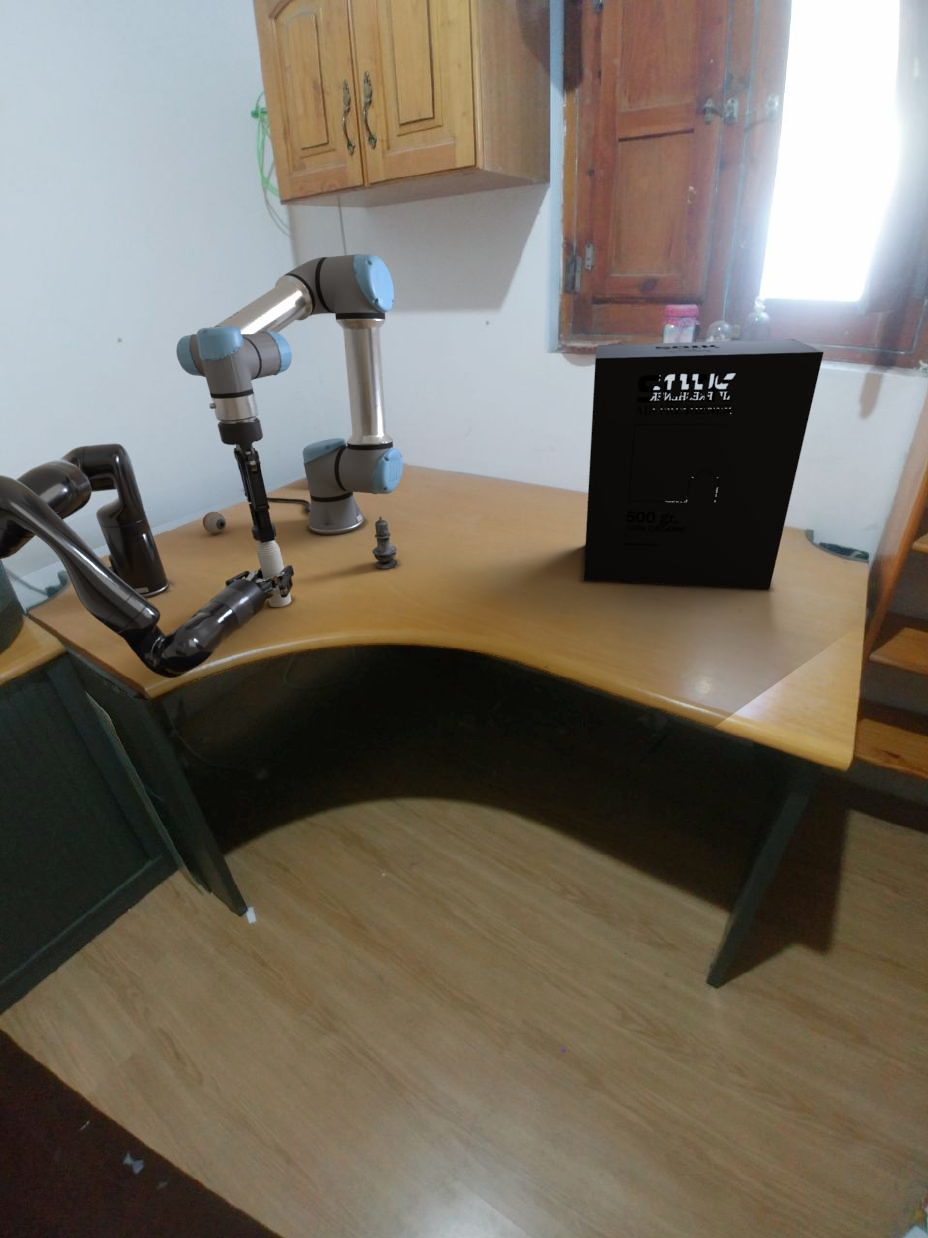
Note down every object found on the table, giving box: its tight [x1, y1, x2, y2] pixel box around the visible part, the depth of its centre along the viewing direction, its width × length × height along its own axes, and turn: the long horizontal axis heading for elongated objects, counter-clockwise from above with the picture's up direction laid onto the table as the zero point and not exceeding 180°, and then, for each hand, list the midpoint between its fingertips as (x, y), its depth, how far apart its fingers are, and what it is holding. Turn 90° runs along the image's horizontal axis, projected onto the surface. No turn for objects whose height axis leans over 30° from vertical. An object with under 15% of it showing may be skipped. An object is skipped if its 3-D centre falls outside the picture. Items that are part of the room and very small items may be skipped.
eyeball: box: [202, 511, 227, 535], centre depth 167 cm, size 6×6×6 cm
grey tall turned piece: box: [371, 516, 398, 570], centre depth 142 cm, size 6×6×12 cm
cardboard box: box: [583, 338, 824, 590], centre depth 125 cm, size 38×20×45 cm, turn 78°
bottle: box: [256, 539, 292, 608], centre depth 126 cm, size 5×5×17 cm
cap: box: [251, 522, 277, 542], centre depth 122 cm, size 4×5×2 cm
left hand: (280, 568), depth 129 cm, fingers closed on bottle, 4 cm apart
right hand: (265, 536), depth 123 cm, fingers closed on cap, 4 cm apart
